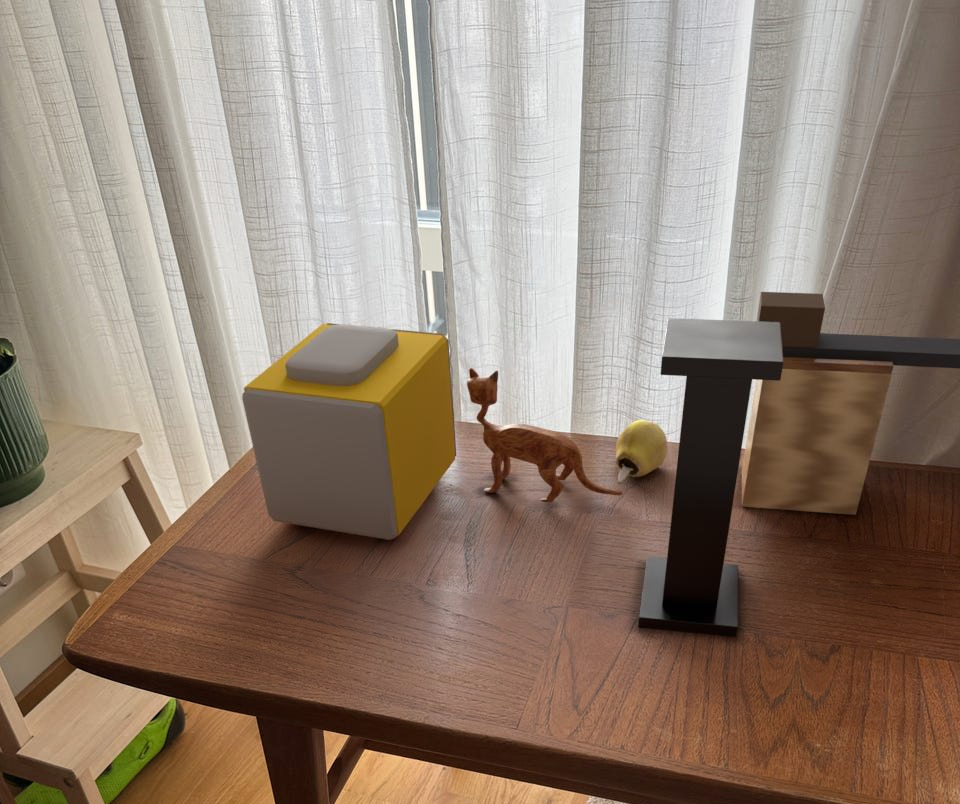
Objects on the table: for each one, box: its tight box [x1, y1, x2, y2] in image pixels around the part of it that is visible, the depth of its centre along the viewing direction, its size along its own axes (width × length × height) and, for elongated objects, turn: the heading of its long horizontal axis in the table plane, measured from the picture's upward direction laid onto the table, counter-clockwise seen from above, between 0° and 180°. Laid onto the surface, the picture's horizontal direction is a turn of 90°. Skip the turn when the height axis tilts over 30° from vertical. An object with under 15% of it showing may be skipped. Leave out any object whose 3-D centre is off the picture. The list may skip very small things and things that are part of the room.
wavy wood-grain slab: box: [741, 334, 894, 516], centre depth 98 cm, size 12×8×17 cm, turn 78°
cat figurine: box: [466, 367, 624, 503], centre depth 101 cm, size 18×7×14 cm, turn 70°
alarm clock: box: [241, 322, 457, 541], centre depth 100 cm, size 20×16×18 cm
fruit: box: [615, 419, 669, 485], centre depth 107 cm, size 6×6×10 cm
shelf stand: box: [637, 317, 784, 638], centre depth 81 cm, size 9×10×26 cm
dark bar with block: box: [756, 291, 960, 369], centre depth 91 cm, size 20×4×5 cm, turn 77°
